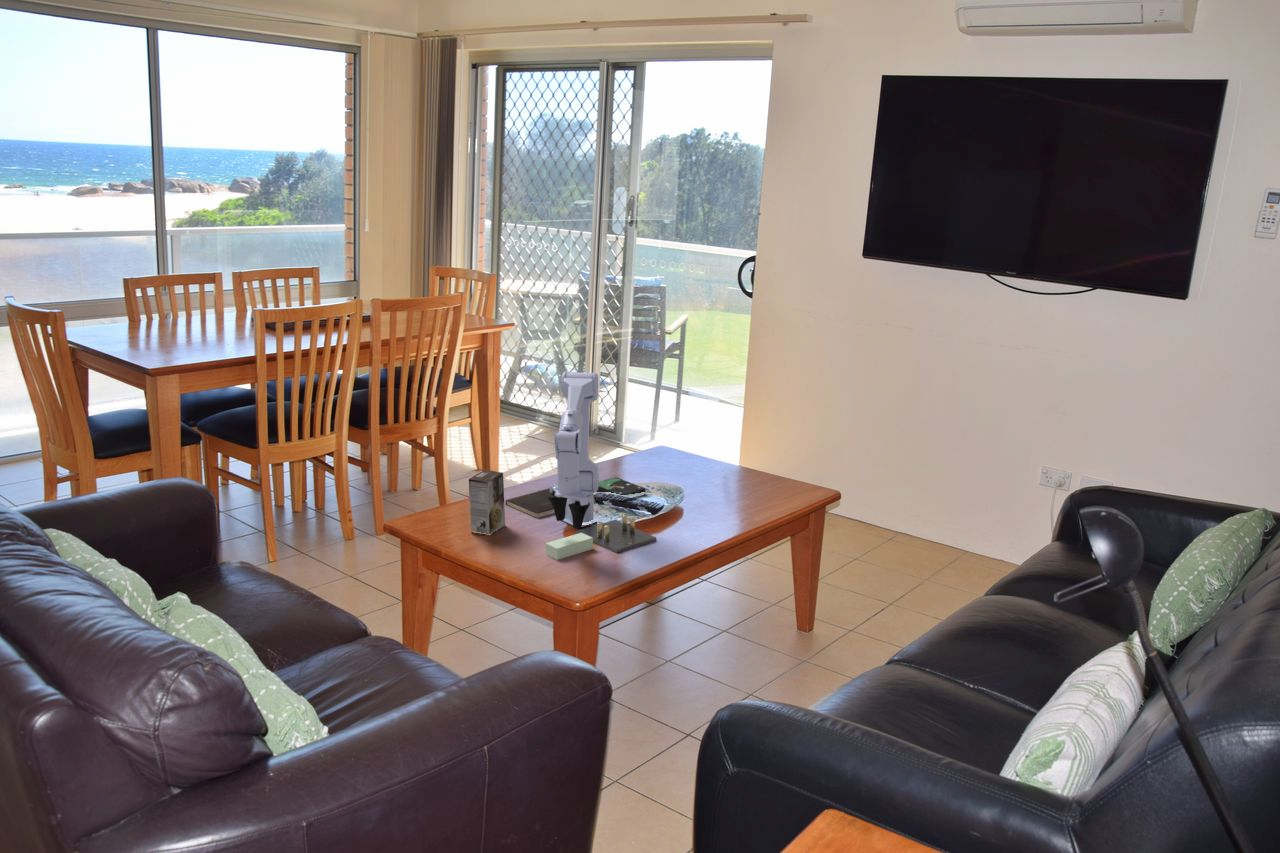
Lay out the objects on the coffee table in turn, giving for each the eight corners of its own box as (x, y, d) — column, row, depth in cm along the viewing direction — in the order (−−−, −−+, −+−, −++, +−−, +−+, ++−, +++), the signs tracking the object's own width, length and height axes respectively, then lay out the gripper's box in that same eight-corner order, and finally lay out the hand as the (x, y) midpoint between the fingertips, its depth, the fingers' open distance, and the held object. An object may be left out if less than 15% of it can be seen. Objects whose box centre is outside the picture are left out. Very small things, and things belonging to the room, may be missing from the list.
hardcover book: (597, 502, 316) (597, 495, 315) (537, 520, 301) (537, 512, 300) (565, 490, 327) (564, 483, 327) (505, 506, 312) (505, 499, 312)
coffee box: (486, 522, 297) (484, 469, 293) (505, 525, 295) (504, 471, 291) (469, 533, 289) (467, 478, 285) (490, 536, 287) (488, 481, 283)
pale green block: (545, 555, 275) (545, 543, 274) (581, 544, 282) (581, 532, 281) (557, 561, 271) (556, 548, 270) (592, 549, 278) (592, 537, 278)
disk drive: (645, 496, 322) (616, 484, 333) (646, 488, 321) (616, 476, 332) (620, 503, 316) (590, 490, 326) (620, 494, 315) (590, 482, 326)
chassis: (576, 534, 289) (576, 517, 287) (615, 523, 297) (615, 506, 296) (616, 553, 275) (616, 535, 274) (656, 540, 284) (656, 523, 283)
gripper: (540, 471, 274) (541, 519, 277) (572, 484, 263) (573, 534, 266) (561, 466, 278) (562, 514, 282) (594, 479, 267) (594, 528, 271)
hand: (569, 523), depth 274 cm, fingers open, 7 cm apart
